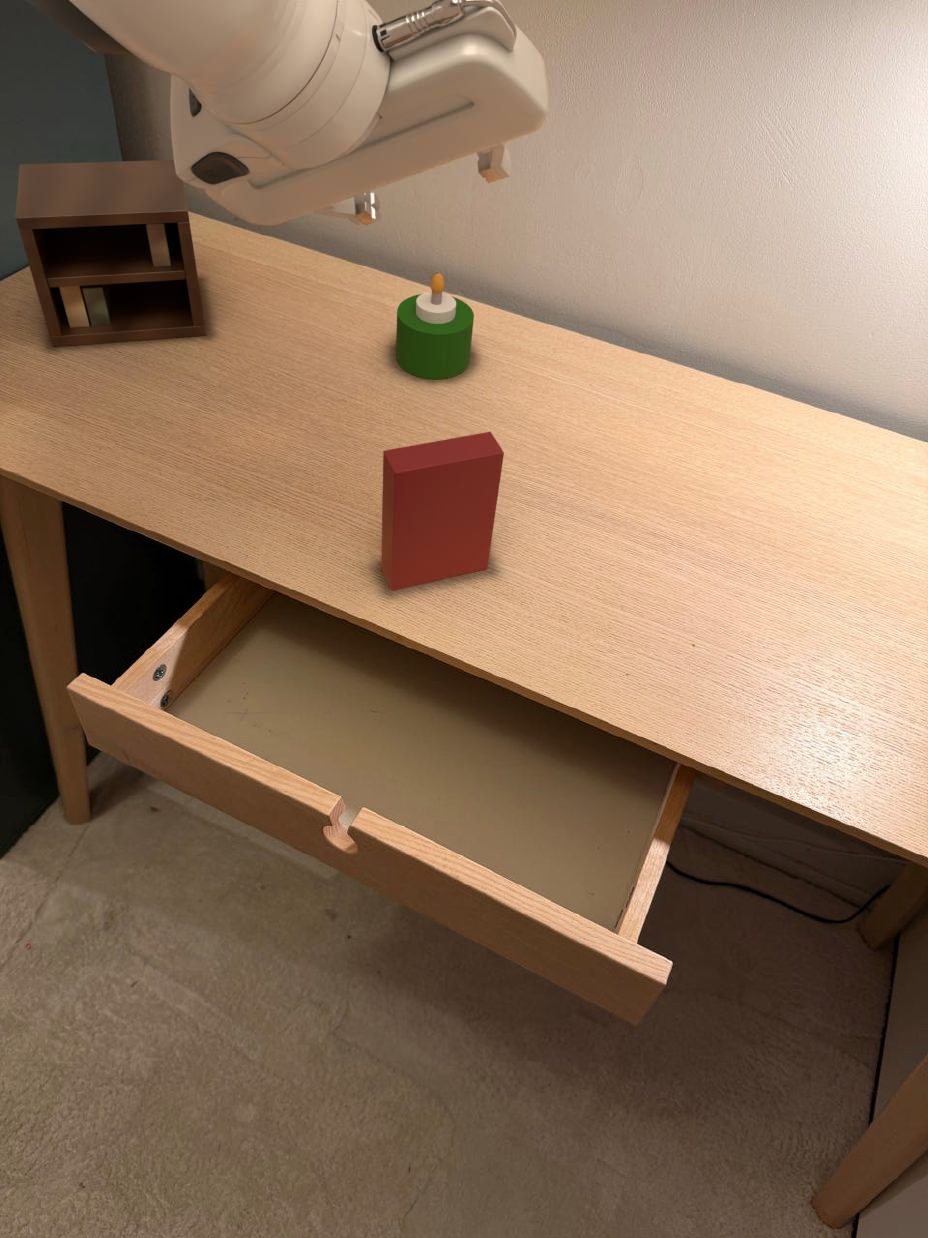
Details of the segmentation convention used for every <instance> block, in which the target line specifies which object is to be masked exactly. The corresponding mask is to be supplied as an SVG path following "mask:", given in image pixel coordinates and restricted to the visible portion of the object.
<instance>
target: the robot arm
mask: <svg viewBox="0 0 928 1238" xmlns="http://www.w3.org/2000/svg"><path fill="white" fill-rule="evenodd" d="M24 1H25V2H26V3H28V4H29V5H31V6H32V7H34V8H36V10H38V11H40V12H41V13H43V14H44V15H46V16H47V17H48V18H50V19H51V20H52V21H54V22H56V23H57V24H58V25H59V26H61V27H62V28H64V29H65V30H67V31H68V32H70V33H71V34H72V35H73V36H75V37H76V38H77V39H79V40H80V41H81V42H82V43H83V44H84V45H86V46H87V48H89V49H90V50H91V51H93V52H95V53H97V54H105V55H120V56H121V55H122V56H135V57H137V58H138V59H139V60H140V61H142V62H143V63H145V64H146V65H147V66H150V67H151V68H152V69H155V70H157V71H160V72H162V73H166V74H168V75H171V76H170V97H169V99H170V100H169V101H170V106H169V107H170V109H169V111H170V135H171V136H170V137H171V146H172V156H173V160H174V164H175V170H176V174H177V176H178V177H179V178H180V179H181V180H183V183H185V184H187V185H190V186H192V187H193V188H196V189H199V190H202V189H203V191H204V193H205V194H206V196H208V197H209V198H210V199H211V200H212V201H214V202H215V203H216V204H218V205H219V206H221V207H222V208H223V209H225V210H226V211H227V212H229V213H230V214H233V215H234V216H235V217H238V218H239V219H241V220H242V221H244V222H246V223H248V224H251V225H256V226H264V227H274V226H278V225H281V224H283V223H286V222H288V221H291V220H293V219H294V220H295V219H297V218H299V217H302V216H305V215H307V214H310V213H313V212H315V213H316V214H318V215H323V216H328V217H334V218H340V219H348V220H349V221H350V222H352V223H353V224H355V226H357V227H359V228H363V227H366V226H368V225H371V224H374V223H376V222H379V221H380V220H381V212H380V211H379V210H380V208H381V204H380V200H379V197H378V195H377V194H376V193H375V192H372V191H374V190H378V189H380V188H382V187H385V186H388V185H390V184H393V183H396V182H399V181H401V180H404V179H408V178H411V177H413V176H415V175H419V174H422V173H424V172H427V171H429V170H432V169H436V168H438V167H441V166H444V165H445V164H449V163H451V162H454V161H457V160H461V159H463V158H466V157H468V156H471V155H474V154H476V156H477V157H478V159H477V173H478V174H479V175H480V176H481V177H482V178H483V179H485V182H486V183H487V184H491V183H494V182H497V181H501V180H503V179H507V178H511V177H512V174H513V173H512V172H513V171H512V157H511V152H510V150H509V148H508V147H507V146H506V144H505V143H508V142H510V141H513V140H515V139H519V138H521V137H524V136H528V135H530V134H532V133H535V132H537V131H539V130H540V129H541V128H542V127H543V125H544V123H545V121H546V118H547V116H548V113H549V104H550V100H549V99H550V98H549V97H550V96H549V84H548V83H549V82H548V74H547V73H548V72H547V69H546V68H547V67H546V63H545V59H544V58H543V56H542V54H541V53H540V51H539V50H538V49H537V47H536V46H535V45H534V43H533V42H532V41H531V40H530V38H528V37H527V35H526V34H525V33H524V32H523V31H522V30H521V29H520V27H518V26H517V24H515V23H514V21H513V19H512V17H511V16H510V14H509V13H508V11H507V10H506V8H505V7H504V5H503V3H502V2H501V1H500V0H432V1H431V3H430V4H427V5H425V6H423V7H421V8H418V9H414V10H411V11H407V12H404V13H402V14H400V15H398V16H396V17H393V18H390V19H389V20H387V21H386V20H385V21H384V22H383V21H382V19H381V17H380V16H379V14H378V12H376V10H375V9H374V8H373V7H372V6H371V4H370V3H369V2H368V1H367V0H24Z"/></svg>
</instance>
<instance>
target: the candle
mask: <svg viewBox="0 0 928 1238" xmlns="http://www.w3.org/2000/svg"><path fill="white" fill-rule="evenodd" d="M444 289H445V280H444V276H443V275H442V274H441V273H439V272H438V273H435V274H434V275H433V277H432V278H431V281H430V290H431V291H427V292H424V293H419V294H415V295H412V296H409V297H407V298H405V299H404V300H402V301H401V302H400V303H399V305H398V306H397V308H396V309H397V310H396V340H395V359H396V363H397V364H398V365H399V367H400V368H401V369H402V370H403V371H405V372H407V373H408V374H410V375H413V376H415V377H418V378H422V379H426V380H447V379H451V378H454V377H457V376H459V375H461V374H463V373H464V372H465V371H466V370H467V369H468V367H469V366H470V361H471V349H472V339H473V329H474V321H475V320H474V319H475V314H474V311H473V309H472V308H471V307H470V305H469V304H468V303H466V302H465V301H463V300H462V299H460V298H458V297H455V296H452V295H449V294H448V293H445V292H443V291H444Z"/></svg>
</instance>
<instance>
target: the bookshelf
mask: <svg viewBox="0 0 928 1238" xmlns="http://www.w3.org/2000/svg"><path fill="white" fill-rule="evenodd" d="M15 221H16V225H17V229H18V233H19V236H20V239H21V242H22V246H23V250H24V253H25V257H26V259H27V264H28V267H29V270H30V274H31V277H32V280H33V283H34V287H35V290H36V294H37V297H38V300H39V305H40V307H41V311H42V315H43V319H44V321H45V324H46V328H47V332H48V335H49V339H50V341H51V345H52V347H53V348H56V347H70V346H71V347H72V346H82V345H83V346H85V345H96V344H108V343H109V344H110V343H124V342H136V341H138V342H139V341H150V340H151V341H152V340H163V339H176V338H189V337H202V336H207V331H206V325H205V316H204V311H203V304H202V295H201V292H200V291H201V290H200V283H199V278H198V277H199V276H198V270H197V269H198V268H197V263H196V255H195V250H194V243H193V236H192V229H191V223H190V216H189V209H188V203H187V197H186V192H185V187H184V181H183V180H181V179H180V178H179V177H178V176H177V174H176V170H175V164H174V159H156V160H154V159H153V160H130V161H129V160H124V161H123V160H121V161H119V160H118V161H90V162H89V161H88V162H58V163H57V162H56V163H55V162H54V163H25V164H23V163H20V164H19V170H18V182H17V195H16V207H15Z"/></svg>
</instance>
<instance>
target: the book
mask: <svg viewBox="0 0 928 1238" xmlns="http://www.w3.org/2000/svg"><path fill="white" fill-rule="evenodd" d="M504 456H505V452H504V450H503V449H502V447H501V446H500V444H499V442H498V441H497V439H496V438H495V436H494V434H493V433H492V432H491V431H487V432H480V433H474V434H469V435H462V436H457V437H452V438H447V439H442V440H435V441H429V442H424V443H418V444H413V445H408V446H402V447H397V448H390V449H386V450H383V451H382V501H381V502H382V509H381V557H380V559H381V561H380V569H381V572H382V574H383V576H384V578H385V580H386V582H387V585H388V587H389V589H390V591H397V590H401V589H405V588H409V587H414V586H419V585H422V584H427V583H431V582H435V581H440V580H445V579H448V578H454V577H458V576H463V575H466V574H471V573H475V572H481V571H484V570H487V569H488V568H489V560H490V553H491V547H492V539H493V532H494V526H495V518H496V511H497V505H498V497H499V491H500V483H501V477H502V471H503V462H504Z"/></svg>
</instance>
